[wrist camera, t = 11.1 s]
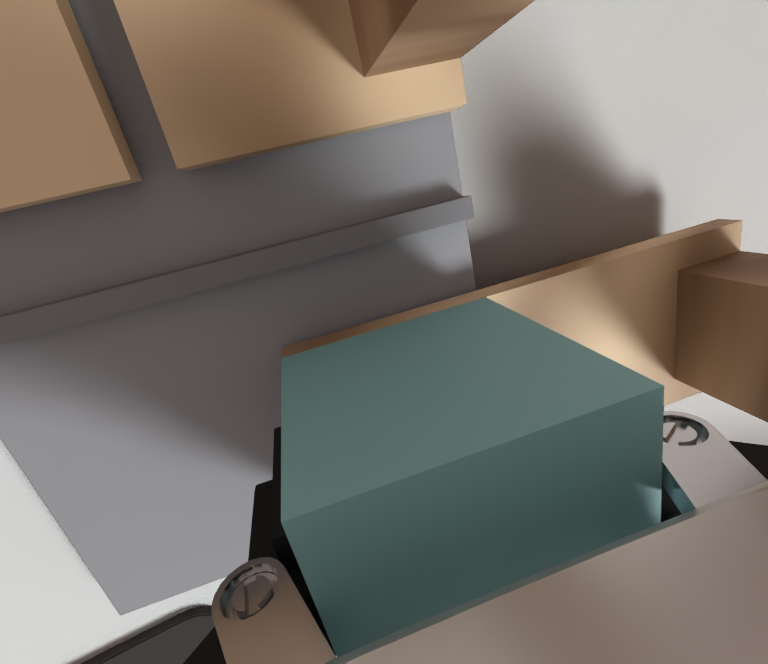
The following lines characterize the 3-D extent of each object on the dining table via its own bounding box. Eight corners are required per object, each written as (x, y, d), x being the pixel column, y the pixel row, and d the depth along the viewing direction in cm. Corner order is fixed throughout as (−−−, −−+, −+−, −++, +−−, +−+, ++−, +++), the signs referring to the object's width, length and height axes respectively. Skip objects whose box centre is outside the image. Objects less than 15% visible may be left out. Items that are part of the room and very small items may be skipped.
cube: (485, 297, 12) (665, 385, 6) (508, 462, 14) (657, 636, 8) (281, 358, 11) (280, 521, 5) (339, 524, 13) (380, 763, 8)
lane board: (380, -239, 9) (405, -352, 7) (490, 459, 16) (519, 493, 15) (-356, -171, 7) (-581, -301, 5) (130, 588, 15) (106, 649, 13)
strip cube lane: (718, 219, 14) (1078, 237, 8) (707, 373, 16) (982, 489, 10) (281, 348, 12) (280, 521, 5) (336, 506, 14) (380, 763, 8)
